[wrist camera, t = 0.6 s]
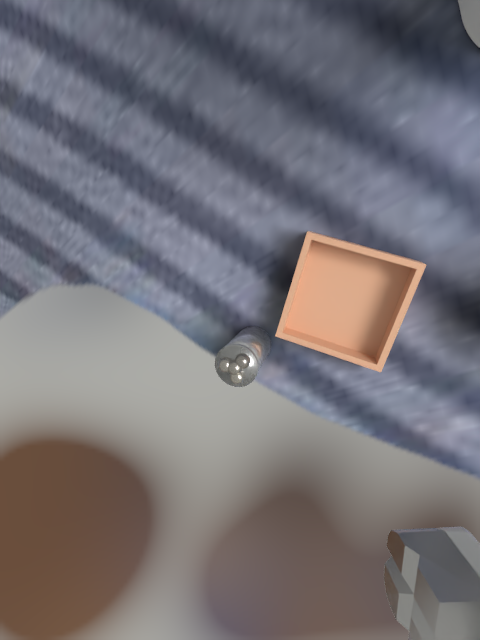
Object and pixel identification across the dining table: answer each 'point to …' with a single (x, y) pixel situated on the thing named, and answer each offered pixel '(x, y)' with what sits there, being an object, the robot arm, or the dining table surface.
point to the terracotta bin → (348, 299)
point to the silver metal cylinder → (243, 356)
